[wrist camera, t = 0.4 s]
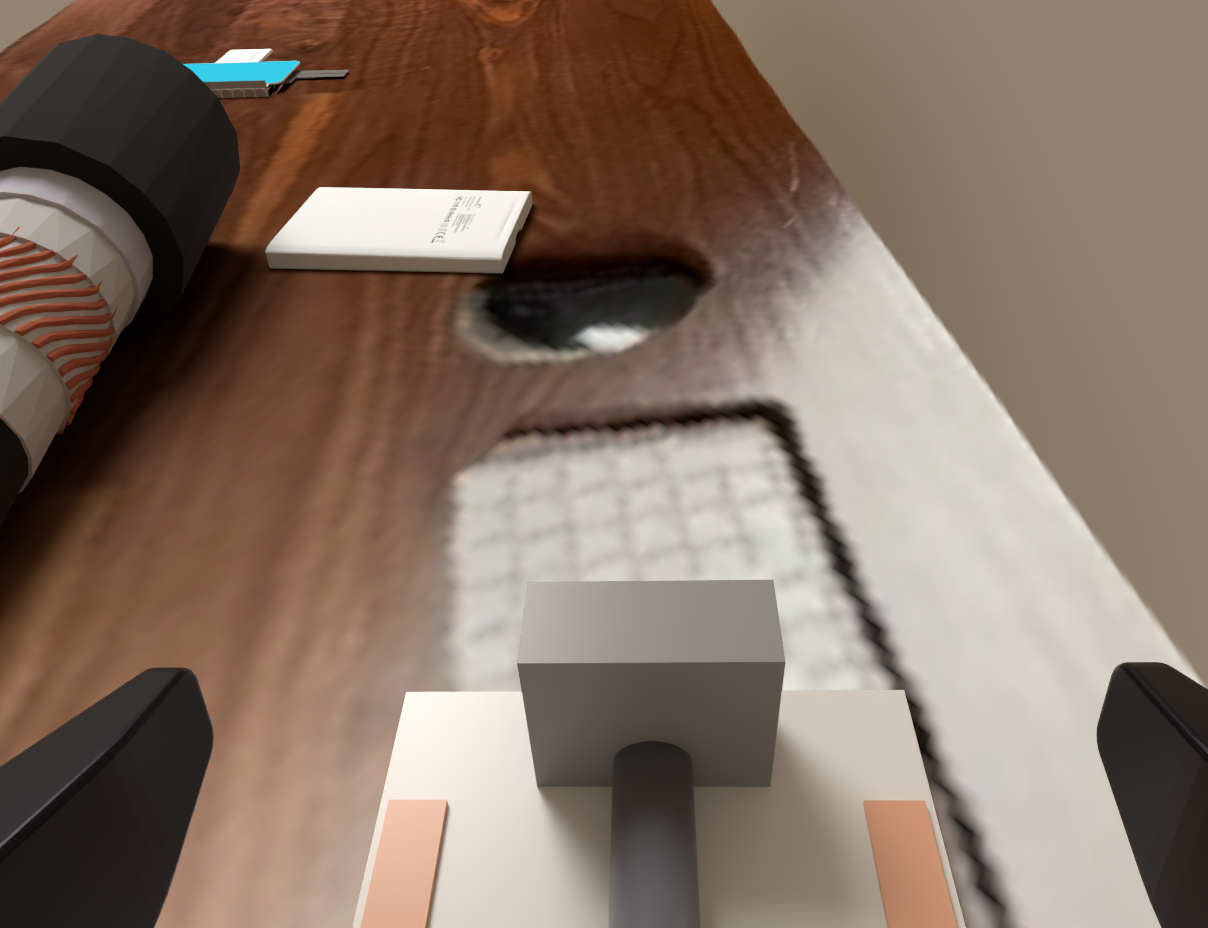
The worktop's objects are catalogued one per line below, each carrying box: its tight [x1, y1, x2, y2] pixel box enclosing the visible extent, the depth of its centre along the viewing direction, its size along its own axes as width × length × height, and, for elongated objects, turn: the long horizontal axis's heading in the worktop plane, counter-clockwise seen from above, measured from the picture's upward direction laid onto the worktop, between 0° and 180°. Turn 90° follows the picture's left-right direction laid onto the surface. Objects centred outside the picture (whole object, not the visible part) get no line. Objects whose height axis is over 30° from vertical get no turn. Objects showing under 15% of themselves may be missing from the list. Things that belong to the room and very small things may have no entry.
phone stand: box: [183, 49, 349, 98], centre depth 75 cm, size 20×12×2 cm, turn 86°
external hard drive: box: [265, 187, 532, 273], centre depth 52 cm, size 2×8×12 cm
